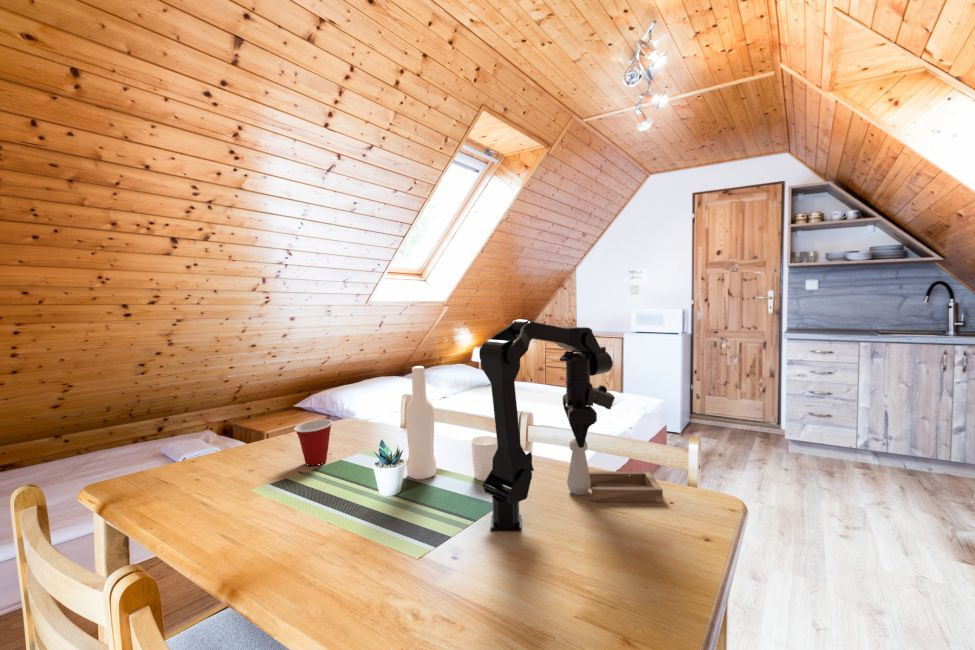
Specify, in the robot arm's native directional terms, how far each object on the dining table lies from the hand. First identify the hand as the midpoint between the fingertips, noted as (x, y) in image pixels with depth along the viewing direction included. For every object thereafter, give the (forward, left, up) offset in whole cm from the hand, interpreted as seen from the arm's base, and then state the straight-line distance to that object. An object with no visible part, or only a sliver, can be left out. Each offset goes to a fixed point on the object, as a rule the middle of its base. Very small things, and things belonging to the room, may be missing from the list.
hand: (578, 441), depth 120 cm
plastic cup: (+20, +76, -13) cm, 79 cm away
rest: (0, -10, -13) cm, 16 cm away
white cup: (+10, +24, -13) cm, 29 cm away
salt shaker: (0, 0, -13) cm, 13 cm away
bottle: (+11, +42, -13) cm, 45 cm away
